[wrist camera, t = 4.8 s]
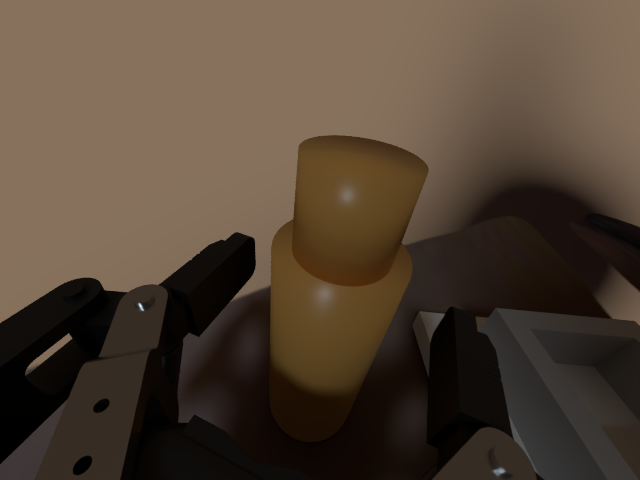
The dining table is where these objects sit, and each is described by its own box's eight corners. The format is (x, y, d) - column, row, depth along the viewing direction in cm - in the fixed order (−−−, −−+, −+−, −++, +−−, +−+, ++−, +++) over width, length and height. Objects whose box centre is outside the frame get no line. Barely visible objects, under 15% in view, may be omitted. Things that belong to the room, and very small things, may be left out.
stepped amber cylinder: (347, 357, 16) (422, 140, 8) (354, 445, 13) (492, 209, 5) (275, 351, 16) (285, 122, 8) (261, 439, 12) (254, 180, 5)
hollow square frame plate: (597, 341, 20) (650, 301, 17) (865, 632, 10) (1087, 645, 7) (412, 324, 19) (436, 279, 16) (505, 624, 9) (605, 636, 6)
